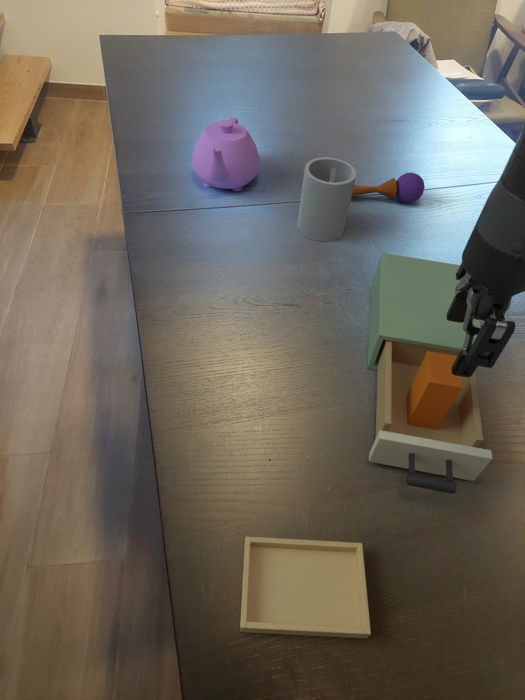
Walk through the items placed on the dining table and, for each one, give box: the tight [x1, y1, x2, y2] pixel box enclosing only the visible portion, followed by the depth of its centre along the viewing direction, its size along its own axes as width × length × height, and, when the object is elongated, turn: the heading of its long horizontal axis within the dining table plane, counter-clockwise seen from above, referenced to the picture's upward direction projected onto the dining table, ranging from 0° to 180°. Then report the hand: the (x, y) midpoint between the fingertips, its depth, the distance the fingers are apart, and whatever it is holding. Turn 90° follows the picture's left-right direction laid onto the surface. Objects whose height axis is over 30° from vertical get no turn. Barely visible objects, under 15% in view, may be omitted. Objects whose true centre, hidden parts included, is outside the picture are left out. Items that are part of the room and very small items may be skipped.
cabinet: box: [366, 252, 482, 371], centre depth 79 cm, size 19×15×8 cm
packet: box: [407, 351, 463, 430], centre depth 66 cm, size 5×4×10 cm
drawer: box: [368, 340, 493, 495], centre depth 67 cm, size 22×13×6 cm, turn 170°
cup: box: [296, 156, 357, 242], centre depth 95 cm, size 9×9×12 cm
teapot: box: [191, 117, 261, 192], centre depth 103 cm, size 20×14×12 cm
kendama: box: [351, 172, 425, 204], centre depth 105 cm, size 6×6×20 cm
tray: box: [239, 536, 372, 639], centre depth 55 cm, size 13×9×2 cm
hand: (457, 345), depth 59 cm, fingers open, 8 cm apart
